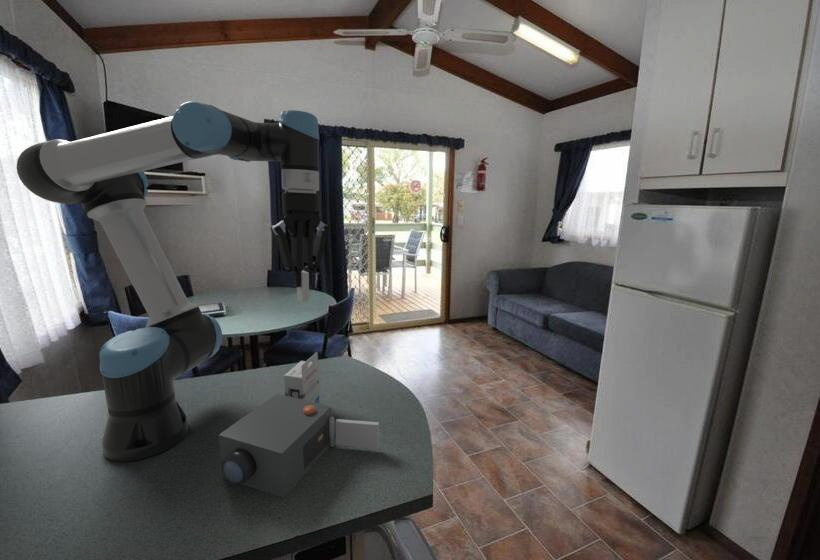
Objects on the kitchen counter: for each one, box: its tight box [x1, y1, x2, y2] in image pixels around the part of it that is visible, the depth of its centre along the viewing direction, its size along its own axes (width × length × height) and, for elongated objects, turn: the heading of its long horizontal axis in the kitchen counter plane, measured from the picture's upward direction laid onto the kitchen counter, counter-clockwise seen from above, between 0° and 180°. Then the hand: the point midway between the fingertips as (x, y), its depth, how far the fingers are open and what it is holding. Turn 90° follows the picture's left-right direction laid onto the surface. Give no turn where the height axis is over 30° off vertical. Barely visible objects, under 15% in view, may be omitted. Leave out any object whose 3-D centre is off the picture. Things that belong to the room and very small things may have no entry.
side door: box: [335, 418, 380, 450], centre depth 78 cm, size 9×2×6 cm, turn 85°
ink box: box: [283, 351, 320, 404], centre depth 90 cm, size 9×5×15 cm, turn 168°
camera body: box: [218, 393, 336, 499], centre depth 72 cm, size 15×19×10 cm
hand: (303, 300), depth 82 cm, fingers closed
